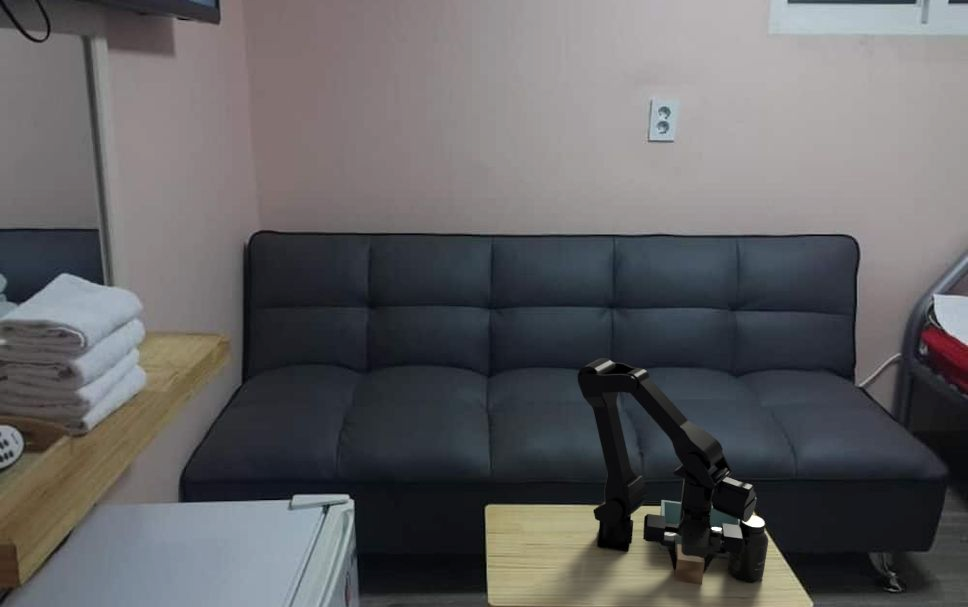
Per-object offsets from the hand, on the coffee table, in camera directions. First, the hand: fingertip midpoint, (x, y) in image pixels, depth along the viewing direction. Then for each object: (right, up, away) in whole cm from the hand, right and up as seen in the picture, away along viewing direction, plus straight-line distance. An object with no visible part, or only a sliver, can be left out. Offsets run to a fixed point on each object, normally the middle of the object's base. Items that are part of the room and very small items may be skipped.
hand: (688, 570), depth 160 cm
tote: (+5, +3, +11) cm, 13 cm away
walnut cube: (0, -1, 0) cm, 1 cm away
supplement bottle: (+11, -1, +1) cm, 11 cm away
